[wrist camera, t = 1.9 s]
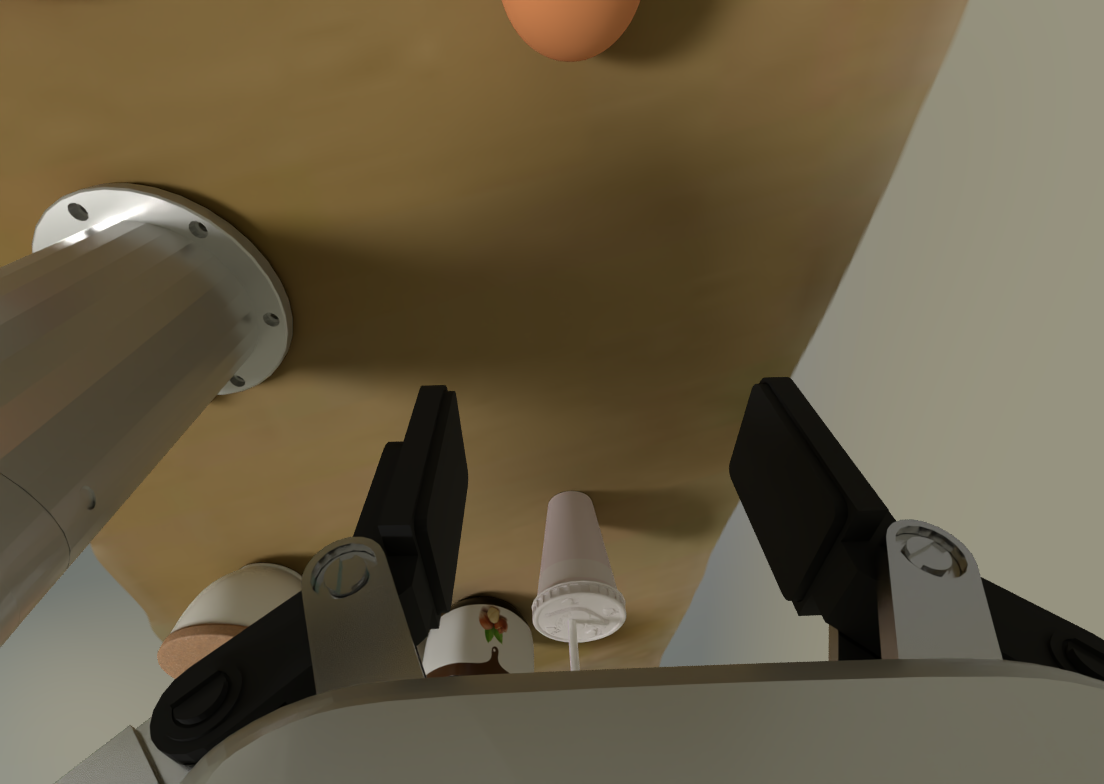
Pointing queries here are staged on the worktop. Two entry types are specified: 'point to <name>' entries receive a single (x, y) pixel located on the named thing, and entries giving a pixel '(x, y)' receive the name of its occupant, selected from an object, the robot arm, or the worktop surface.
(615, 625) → the smoothie
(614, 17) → the ball
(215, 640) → the lidded jar
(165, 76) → the worktop surface
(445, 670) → the spread jar
